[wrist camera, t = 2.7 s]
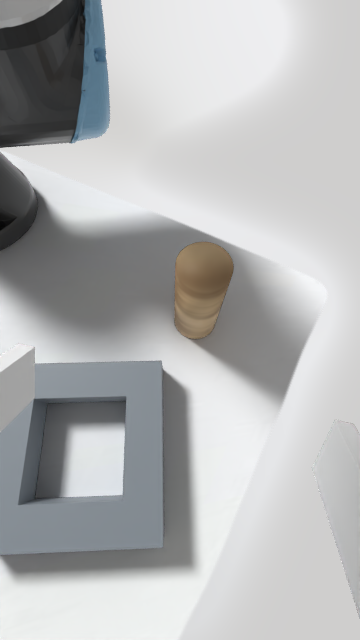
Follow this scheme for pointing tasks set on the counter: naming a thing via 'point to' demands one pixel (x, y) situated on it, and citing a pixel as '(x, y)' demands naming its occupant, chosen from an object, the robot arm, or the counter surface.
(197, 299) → the oak peg
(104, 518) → the slate socket block
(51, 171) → the counter surface
